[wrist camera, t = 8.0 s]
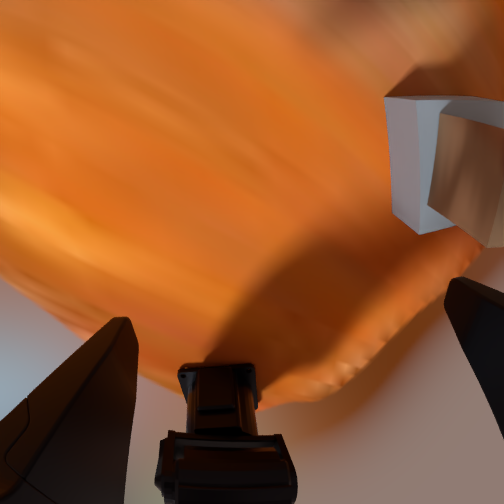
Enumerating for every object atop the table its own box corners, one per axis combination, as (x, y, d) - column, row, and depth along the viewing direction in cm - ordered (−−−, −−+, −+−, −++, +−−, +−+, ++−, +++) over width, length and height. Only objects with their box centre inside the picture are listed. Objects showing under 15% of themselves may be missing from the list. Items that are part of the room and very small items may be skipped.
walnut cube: (485, 207, 17) (540, 244, 12) (427, 205, 17) (486, 247, 12) (498, 129, 15) (562, 151, 10) (439, 112, 14) (511, 131, 9)
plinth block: (470, 194, 21) (502, 213, 18) (389, 211, 21) (419, 234, 18) (469, 95, 17) (505, 101, 14) (381, 96, 17) (415, 100, 14)
